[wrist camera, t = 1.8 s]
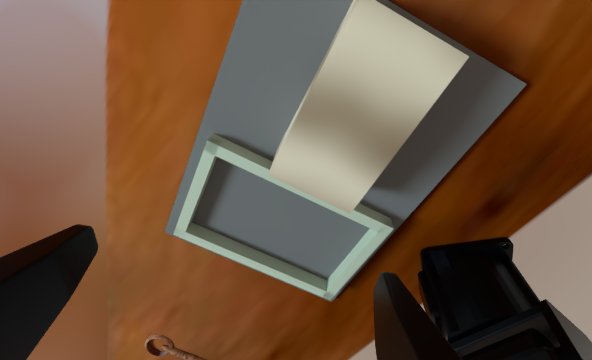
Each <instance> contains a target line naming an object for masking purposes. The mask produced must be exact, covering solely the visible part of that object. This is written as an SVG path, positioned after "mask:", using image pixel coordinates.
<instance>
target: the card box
mask: <svg viewBox="0 0 592 360" xmlns="http://www.w3.org/2000/svg"><path fill="white" fill-rule="evenodd" d="M468 58H469V56H468V55H466V54H464V53H463V52H461V51H459V50H458V49H456V48H454V47H453V46H451V45H449V44H448V43H446V42H444V41H443V40H441V39H439V38H438V37H436V36H434V35H433V34H431V33H429V32H428V31H426V30H424V29H423V28H421V27H419V26H418V25H416V24H414V23H412V22H411V21H409V20H407V19H406V18H404V17H402V16H401V15H399V14H397V13H396V12H394V11H392V10H391V9H389V8H387V7H386V6H384V5H382V4H381V3H379V2H377V1H376V0H353V2H352V4H351V6H350V8H349V10H348V12H347V14H346V16H345V18H344V19H343V21H342V23H341V25H340V27H339V29H338V31H337V33H336V35H335V37H334V39H333V41H332V43H331V45H330V47H329V49H328V51H327V53H326V55H325V57H324V59H323V61H322V63H321V65H320V67H319V69H318V71H317V72H316V74H315V76H314V78H313V80H312V82H311V84H310V86H309V88H308V90H307V92H306V94H305V96H304V98H303V100H302V102H301V104H300V106H299V108H298V110H297V112H296V114H295V116H294V118H293V120H292V122H291V124H290V125H289V127H288V129H287V131H286V133H285V135H284V137H283V139H282V141H281V143H280V145H279V147H278V149H277V151H276V154H275V157H274V160H273V162H272V165H271V168H270V171H269V173H268V175H269V176H271V177H273V178H275V179H277V180H279V181H281V182H283V183H285V184H288V185H290V186H292V187H294V188H296V189H298V190H300V191H302V192H305V193H307V194H309V195H311V196H313V197H315V198H317V199H319V200H322V201H324V202H326V203H328V204H330V205H332V206H334V207H336V208H339V209H341V210H343V211H345V212H347V213H349V214H351V212H352V211H353V210H354V208H355V207H356V206H357V205H358V203H359V202H360V201H361V199H362V198H363V197H364V195H365V194H366V193H367V191H368V190H369V189H370V187H371V186H372V185H373V183H374V182H375V181H376V179H377V178H378V177H379V175H380V174H381V173H382V172H383V170H384V169H385V168H386V166H387V165H388V164H389V162H390V161H391V160H392V158H393V157H394V156H395V154H396V153H397V152H398V150H399V149H400V148H401V146H402V145H403V144H404V142H405V141H406V140H407V139H408V137H409V136H410V135H411V133H412V132H413V131H414V129H415V128H416V127H417V125H418V124H419V123H420V121H421V120H422V119H423V117H424V116H425V115H426V113H427V112H428V111H429V109H430V108H431V107H432V106H433V104H434V103H435V102H436V100H437V99H438V98H439V96H440V95H441V94H442V92H443V91H444V90H445V88H446V87H447V86H448V84H449V83H450V82H451V80H452V79H453V78H454V76H455V75H456V74H457V72H458V71H459V70H460V69H461V67H462V66H463V65H464V63H465V62H466V61H467V59H468Z"/></svg>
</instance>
